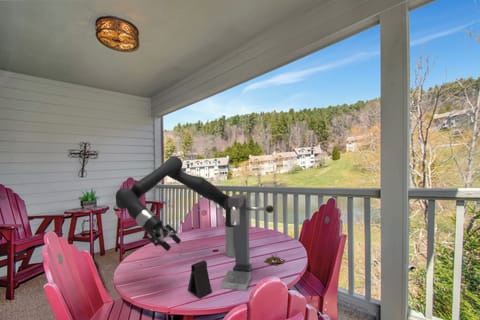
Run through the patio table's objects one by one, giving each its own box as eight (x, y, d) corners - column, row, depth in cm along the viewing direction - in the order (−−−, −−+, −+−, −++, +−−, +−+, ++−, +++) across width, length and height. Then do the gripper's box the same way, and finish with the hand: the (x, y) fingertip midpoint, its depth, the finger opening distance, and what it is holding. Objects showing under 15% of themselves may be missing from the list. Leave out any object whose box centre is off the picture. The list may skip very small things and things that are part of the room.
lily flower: (289, 261, 120) (289, 253, 120) (278, 269, 111) (277, 260, 112) (271, 256, 128) (271, 248, 128) (259, 262, 119) (259, 254, 120)
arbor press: (233, 267, 114) (232, 193, 115) (276, 271, 108) (273, 194, 110) (221, 287, 94) (219, 199, 96) (271, 293, 89) (268, 199, 91)
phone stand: (187, 290, 93) (187, 261, 94) (199, 285, 97) (199, 257, 98) (199, 299, 87) (199, 268, 87) (211, 292, 91) (211, 263, 91)
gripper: (154, 223, 106) (178, 246, 102) (133, 232, 92) (160, 258, 88) (162, 211, 105) (187, 234, 101) (142, 218, 91) (170, 244, 88)
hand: (174, 245), depth 95 cm, fingers open, 8 cm apart
